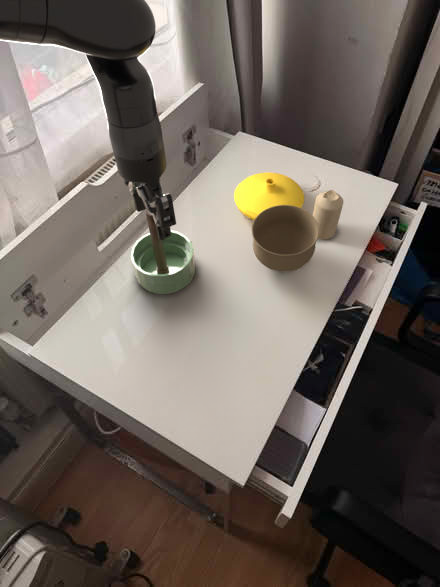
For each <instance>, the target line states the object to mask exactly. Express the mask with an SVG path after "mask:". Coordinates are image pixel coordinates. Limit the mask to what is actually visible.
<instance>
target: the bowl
mask: <svg viewBox="0 0 440 587" xmlns="http://www.w3.org/2000/svg"><path fill="white" fill-rule="evenodd" d="M251 236H252V250H253V253H254V255H255V257H256V259H257V261H259V263H260V264H261V265H263V266H264V267H266V268H268V269H269V270H272V271H275V272H280V273H285V272H288V273H289V272H293V271H297V270H299V269H301V268H303V267H304V266H306V265H307V264H308V263H309V262H310V261H311V259H312V258H313V256H314V254H315V251H316V244H317V241H318V240H319V238H318V236H319V226H318V223H317V221H316V219H315V218H314V217H313V214H311V213H310V212H309V211H308V210H305V209H304V208H302V207H301V208H299V207H296V206H292V205H278V206H273V207H270V208H268V209H266V210H264V211H262V212H261V213H260V214H259V215H258V216H257V217H256V218H255V220H253V222H252V224H251Z"/></svg>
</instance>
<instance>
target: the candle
mask: <svg viewBox="0 0 440 587" xmlns="http://www.w3.org/2000/svg"><path fill="white" fill-rule="evenodd" d="M343 205H344V199H343V197H342V195H340V194H339V193H337V192H336V191H335V190H334V189H330V190H326V191H322V192H320V193H318V195H316V197H315V202H314V207H313V212H312V216H313V217H314V218H315V219H316V221H317V223H318V226H319V236H318V240H329V239H331V238H333V237H334V236H335V234H336V233H337V232H336V231H337V228H338V224H339V221H340V218H341V213H342V209H343V207H344V206H343Z"/></svg>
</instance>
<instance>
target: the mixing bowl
mask: <svg viewBox="0 0 440 587" xmlns="http://www.w3.org/2000/svg"><path fill="white" fill-rule="evenodd" d="M170 230H171V236H170V237H168V238H166V239H164V240H163V246H164V251H165V257H166V262H167V264H168V267H169V273H167V274H157V269H156V266H157V264H156V259H155V255H154V250H153V245H152V241H151V236H150V232H147V233H146V234H144V235H142V236H141V237H140V238H138V239H137V240H136V242H135V243H134V244H133V246H132V248H131V252H130V260H131V264H132V267H133V272H134V275H135V278H136V281H137V282H138V284H139V285H140V286H141V287H142V288H143V289H145V291H147V292H150V293H153V294H157V295H167V294H168V295H169V294H172V293H173V294H174V293H176V292H179V291H181V290H182V289H184V288H186V287H187V286H188V285H189V284H190V283H191V281H192V280H193V279H194V276H195V274H196V261H195V260H196V259H195V251H194V250H195V249H194V247H193V243H192V241H191V240H190V239H189V237H188V236H186V235H185V234H183V233H182V232H179V231H176V230H172V229H170Z"/></svg>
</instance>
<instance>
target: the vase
mask: <svg viewBox="0 0 440 587" xmlns="http://www.w3.org/2000/svg"><path fill="white" fill-rule="evenodd" d="M233 193H234V194H233V199H234V203H235V205H236V207H237V209H238V211H239V212H240V213H242V215H243V216H245V217H246V218H248V219H250V220H251V221H254V220H255V218H256V217H257V216H258V215H259V214H260V213H261V212H262V211H264V210H266V209H268V208H270V207H273V206H278V205H292V206H296V207H299V208H302V207H303V206H304V203H305V193H304V190H303V188H302V187H301V186H300V185H299V183H298V182H296V181H295V180H294V179H293V178H291V177H289V176H287V175H285V174H282V173H277V172H270V171H268V172H259V173H255V174H251V175H250V176H248V177H246V178H245V179H243V180H242V181H241V182H239V183H238V185H237V186H236V188H235V189H234V192H233Z"/></svg>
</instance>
